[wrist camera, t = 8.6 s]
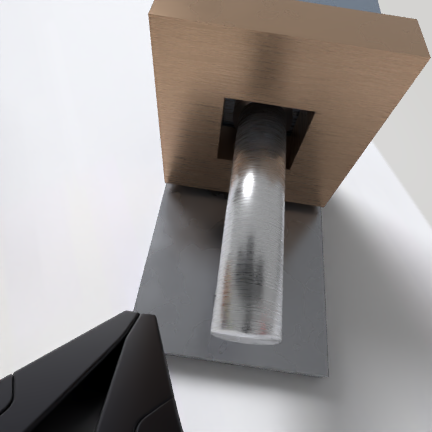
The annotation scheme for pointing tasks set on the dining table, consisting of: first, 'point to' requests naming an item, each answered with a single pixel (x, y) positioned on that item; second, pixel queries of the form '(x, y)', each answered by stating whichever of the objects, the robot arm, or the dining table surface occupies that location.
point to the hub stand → (243, 255)
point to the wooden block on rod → (277, 84)
